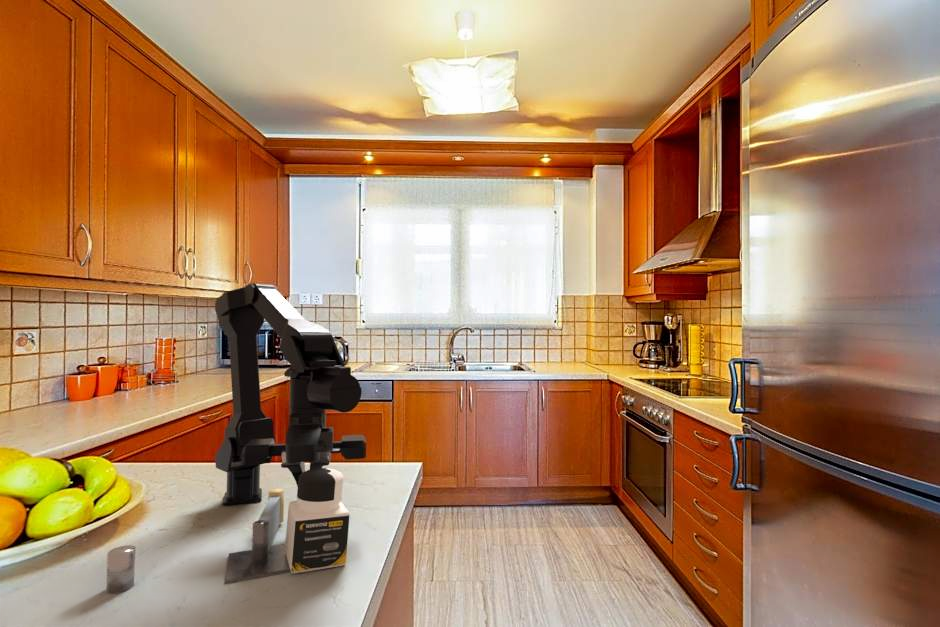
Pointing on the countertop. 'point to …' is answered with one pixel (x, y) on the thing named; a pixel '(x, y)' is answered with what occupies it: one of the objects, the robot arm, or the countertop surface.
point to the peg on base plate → (257, 558)
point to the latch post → (120, 569)
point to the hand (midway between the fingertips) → (305, 502)
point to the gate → (273, 512)
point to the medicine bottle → (317, 522)
